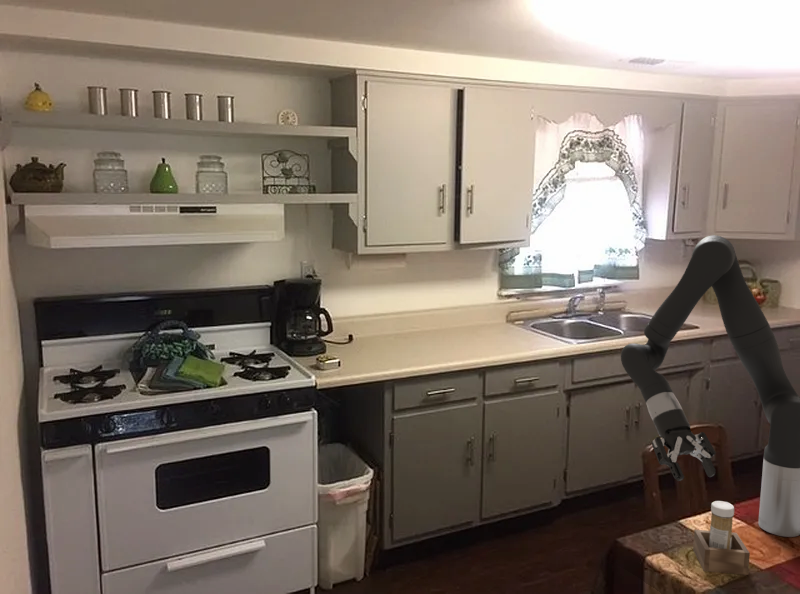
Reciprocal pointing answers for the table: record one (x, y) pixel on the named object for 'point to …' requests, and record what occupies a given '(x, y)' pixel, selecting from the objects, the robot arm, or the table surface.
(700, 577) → the table surface
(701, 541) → the open square sleeve
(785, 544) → the table surface
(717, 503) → the sprinkles bottle
